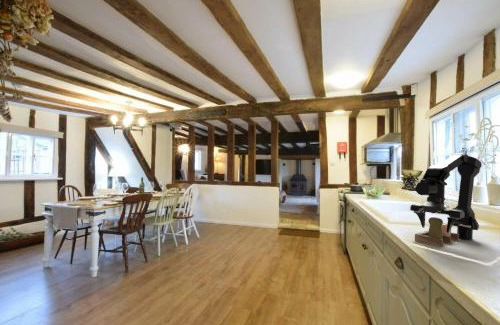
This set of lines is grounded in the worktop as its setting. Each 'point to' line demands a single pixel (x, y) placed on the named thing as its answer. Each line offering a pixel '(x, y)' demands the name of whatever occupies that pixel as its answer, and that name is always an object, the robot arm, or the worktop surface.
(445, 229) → the block
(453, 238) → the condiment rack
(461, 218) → the robot arm
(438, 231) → the cork
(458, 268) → the worktop surface
